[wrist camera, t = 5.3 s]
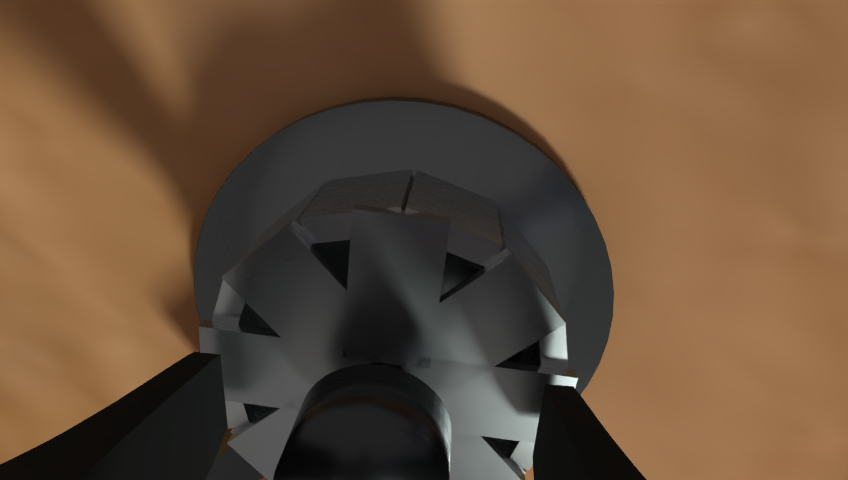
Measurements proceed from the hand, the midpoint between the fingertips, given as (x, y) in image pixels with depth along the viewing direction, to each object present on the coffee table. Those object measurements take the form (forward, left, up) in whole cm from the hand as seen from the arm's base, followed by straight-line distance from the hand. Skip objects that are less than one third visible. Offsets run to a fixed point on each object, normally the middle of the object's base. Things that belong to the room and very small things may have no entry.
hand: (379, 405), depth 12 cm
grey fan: (0, 0, -5) cm, 5 cm away
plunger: (0, 0, -4) cm, 4 cm away
